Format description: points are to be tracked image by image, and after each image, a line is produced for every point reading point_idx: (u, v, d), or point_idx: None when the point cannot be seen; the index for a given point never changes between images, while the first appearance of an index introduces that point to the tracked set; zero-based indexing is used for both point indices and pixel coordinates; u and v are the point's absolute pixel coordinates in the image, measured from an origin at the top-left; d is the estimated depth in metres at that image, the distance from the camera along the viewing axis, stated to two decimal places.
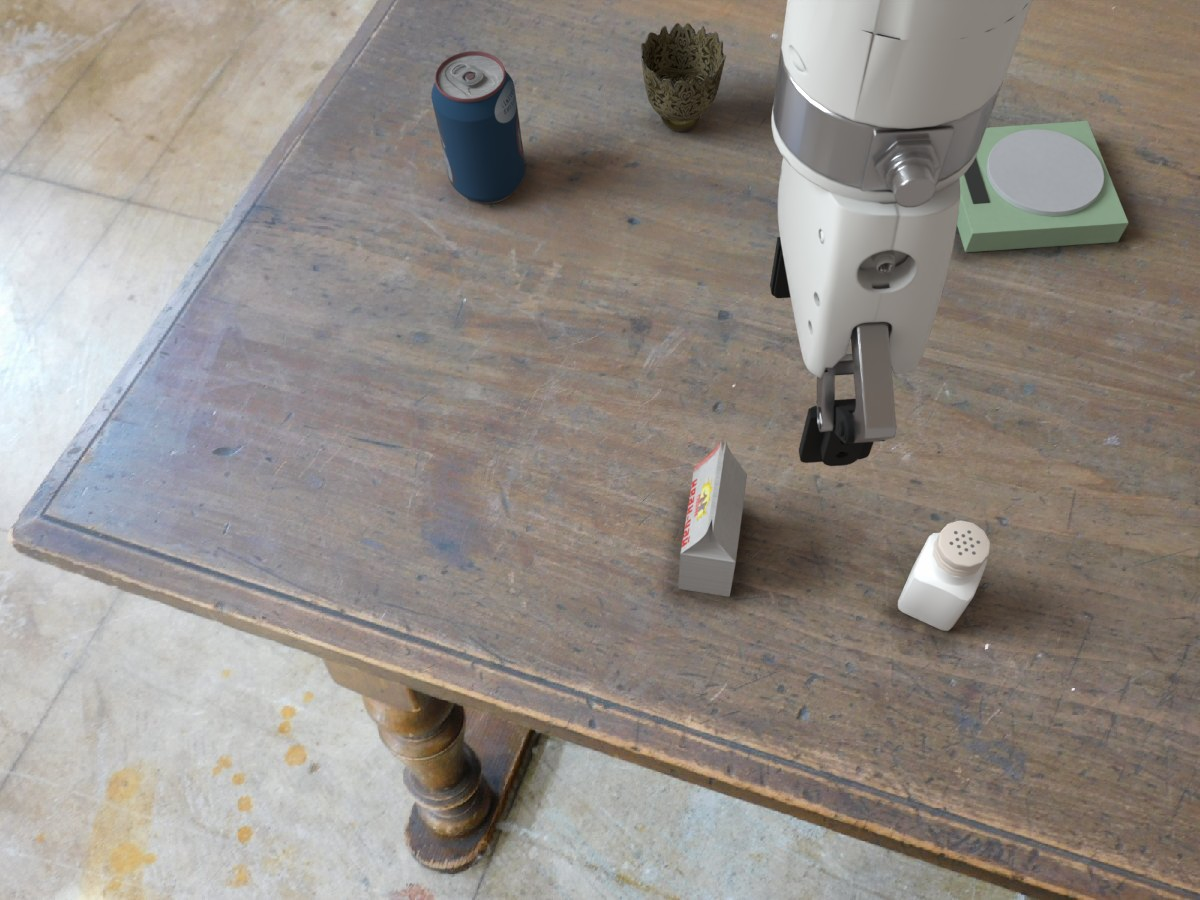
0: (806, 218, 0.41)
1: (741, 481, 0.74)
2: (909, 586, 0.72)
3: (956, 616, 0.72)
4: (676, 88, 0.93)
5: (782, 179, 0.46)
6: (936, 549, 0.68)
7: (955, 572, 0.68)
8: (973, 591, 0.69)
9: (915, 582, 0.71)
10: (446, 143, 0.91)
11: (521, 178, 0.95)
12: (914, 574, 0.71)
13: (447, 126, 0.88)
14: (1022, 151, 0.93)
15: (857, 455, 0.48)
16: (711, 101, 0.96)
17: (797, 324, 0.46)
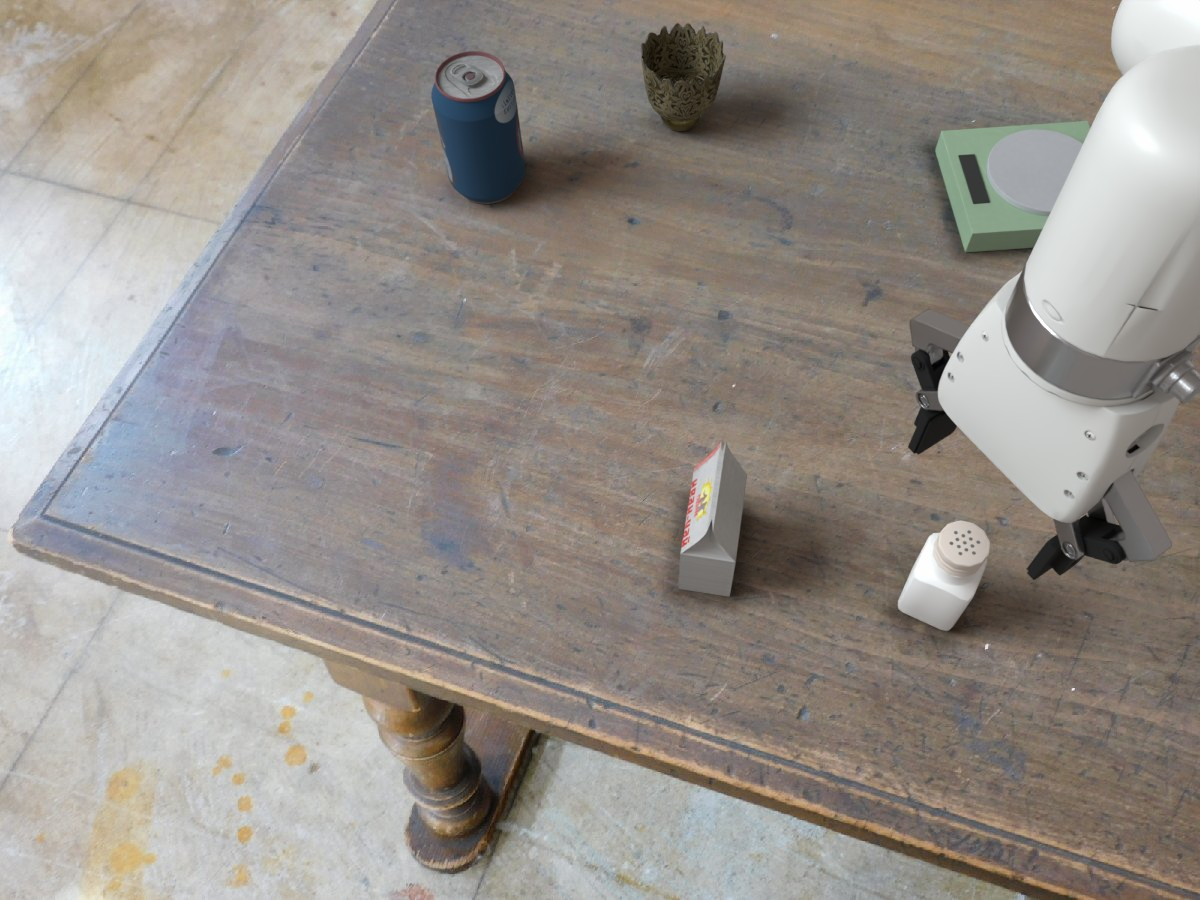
0: (1056, 422, 0.50)
1: (741, 481, 0.74)
2: (909, 586, 0.72)
3: (956, 616, 0.72)
4: (676, 88, 0.93)
5: (963, 383, 0.55)
6: (936, 549, 0.68)
7: (955, 572, 0.68)
8: (973, 591, 0.69)
9: (915, 582, 0.71)
10: (446, 143, 0.91)
11: (521, 178, 0.95)
12: (914, 574, 0.71)
13: (447, 126, 0.88)
14: (1022, 151, 0.93)
15: (1082, 557, 0.58)
16: (711, 101, 0.96)
17: (1027, 488, 0.55)
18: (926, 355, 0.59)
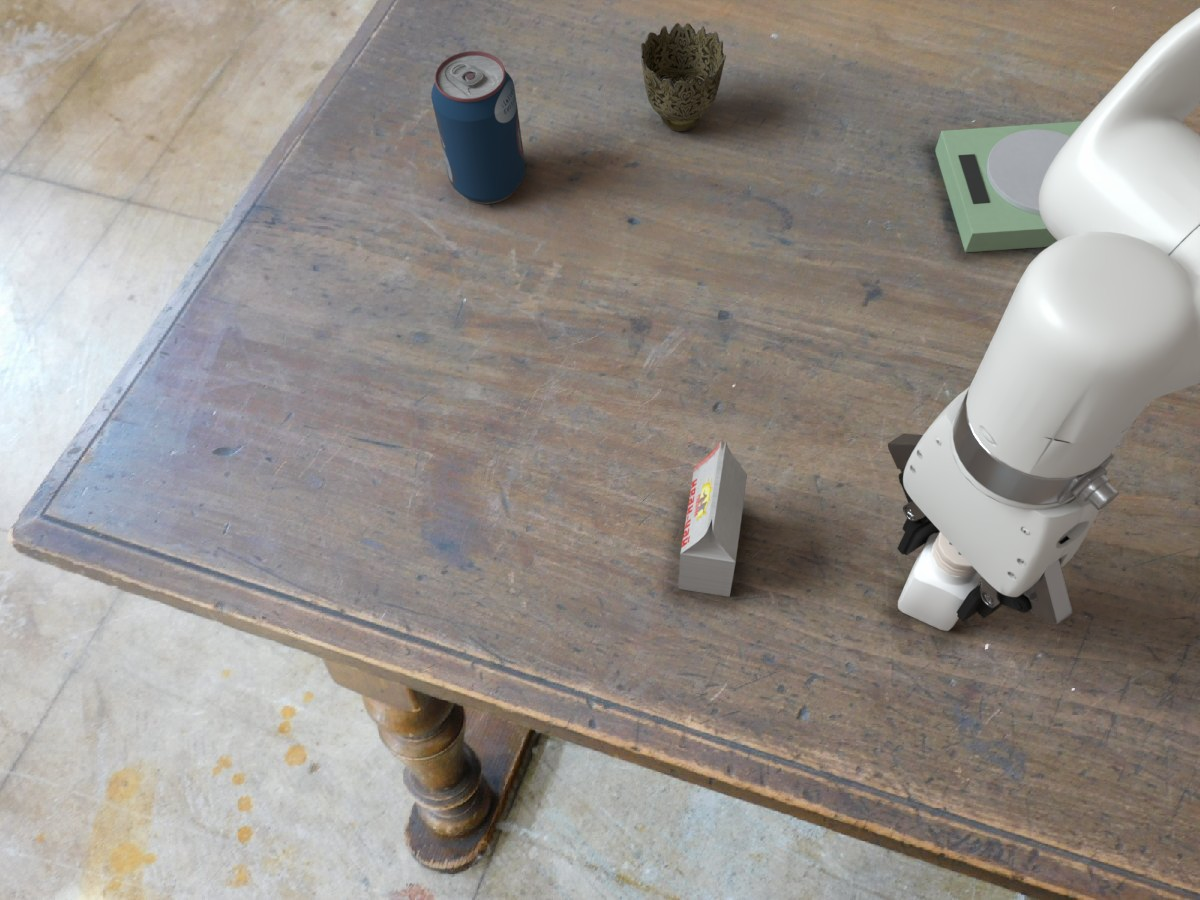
0: (998, 518, 0.58)
1: (741, 481, 0.74)
2: (909, 586, 0.72)
3: (956, 616, 0.72)
4: (676, 88, 0.93)
5: (923, 476, 0.63)
6: (936, 549, 0.68)
7: (955, 572, 0.68)
8: None
9: (915, 582, 0.71)
10: (446, 143, 0.91)
11: (521, 178, 0.95)
12: (914, 574, 0.71)
13: (447, 126, 0.88)
14: (1022, 151, 0.93)
15: (1002, 603, 0.69)
16: (711, 101, 0.96)
17: (979, 567, 0.63)
18: None
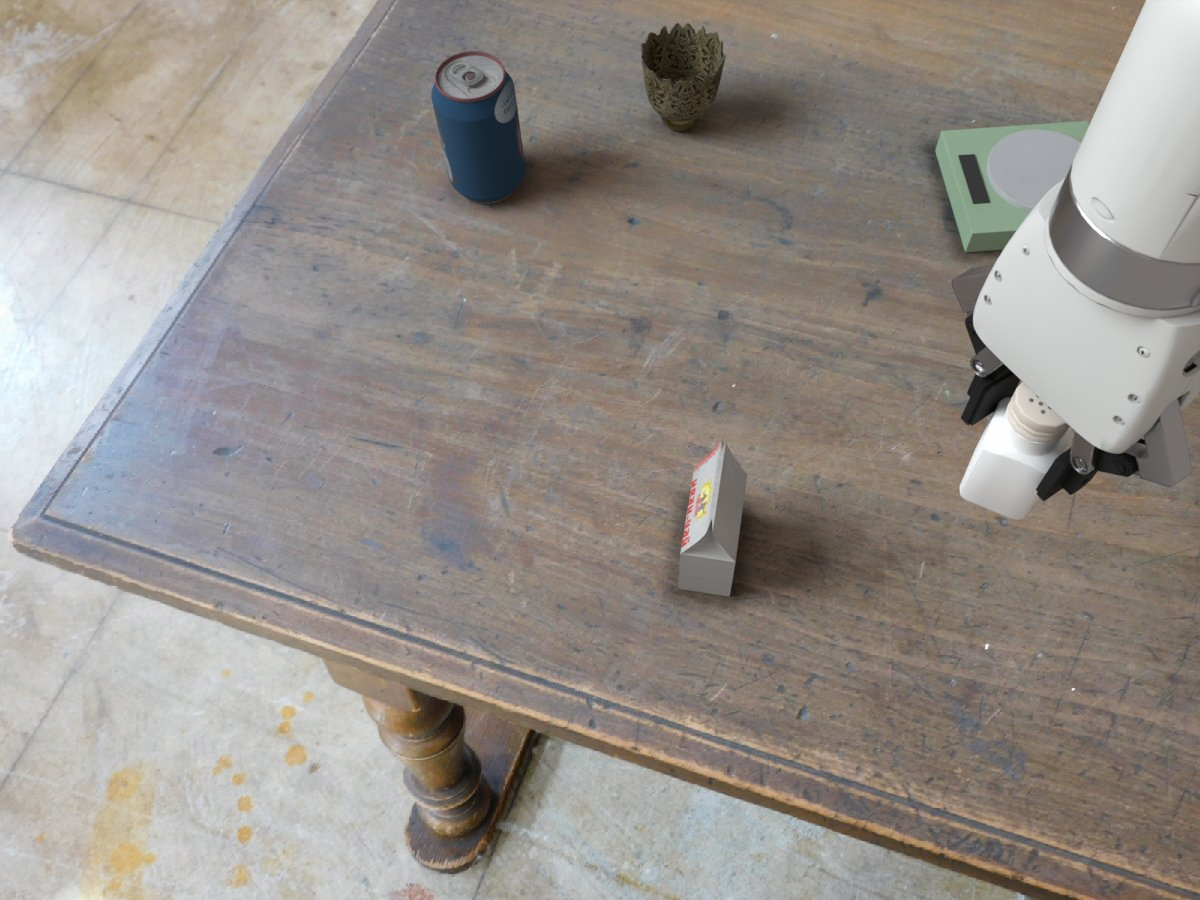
0: (1105, 340, 0.46)
1: (741, 481, 0.74)
2: (976, 462, 0.59)
3: (1033, 498, 0.59)
4: (676, 88, 0.93)
5: (1001, 305, 0.51)
6: (1012, 409, 0.56)
7: (1036, 436, 0.55)
8: None
9: (984, 455, 0.58)
10: (446, 143, 0.91)
11: (521, 178, 0.95)
12: (983, 445, 0.58)
13: (447, 126, 0.88)
14: (1022, 151, 0.93)
15: (1093, 475, 0.56)
16: (711, 101, 0.96)
17: (1072, 418, 0.51)
18: None
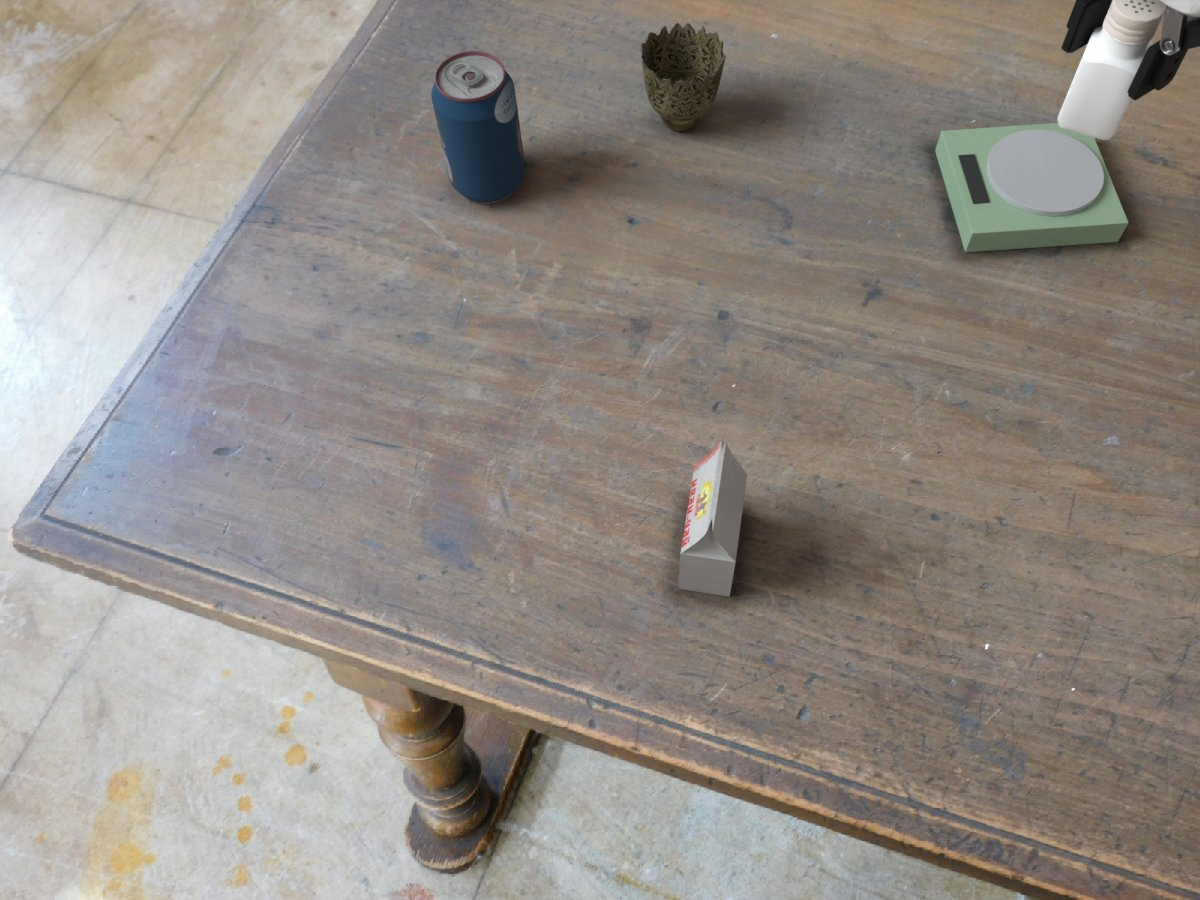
0: None
1: (741, 481, 0.74)
2: (1075, 79, 0.72)
3: (1123, 107, 0.72)
4: (676, 88, 0.93)
5: None
6: (1109, 16, 0.69)
7: (1130, 36, 0.69)
8: None
9: (1084, 68, 0.71)
10: (446, 143, 0.91)
11: (521, 178, 0.95)
12: (1083, 59, 0.71)
13: (447, 126, 0.88)
14: (1022, 151, 0.93)
15: (1175, 72, 0.69)
16: (711, 101, 0.96)
17: None
18: None
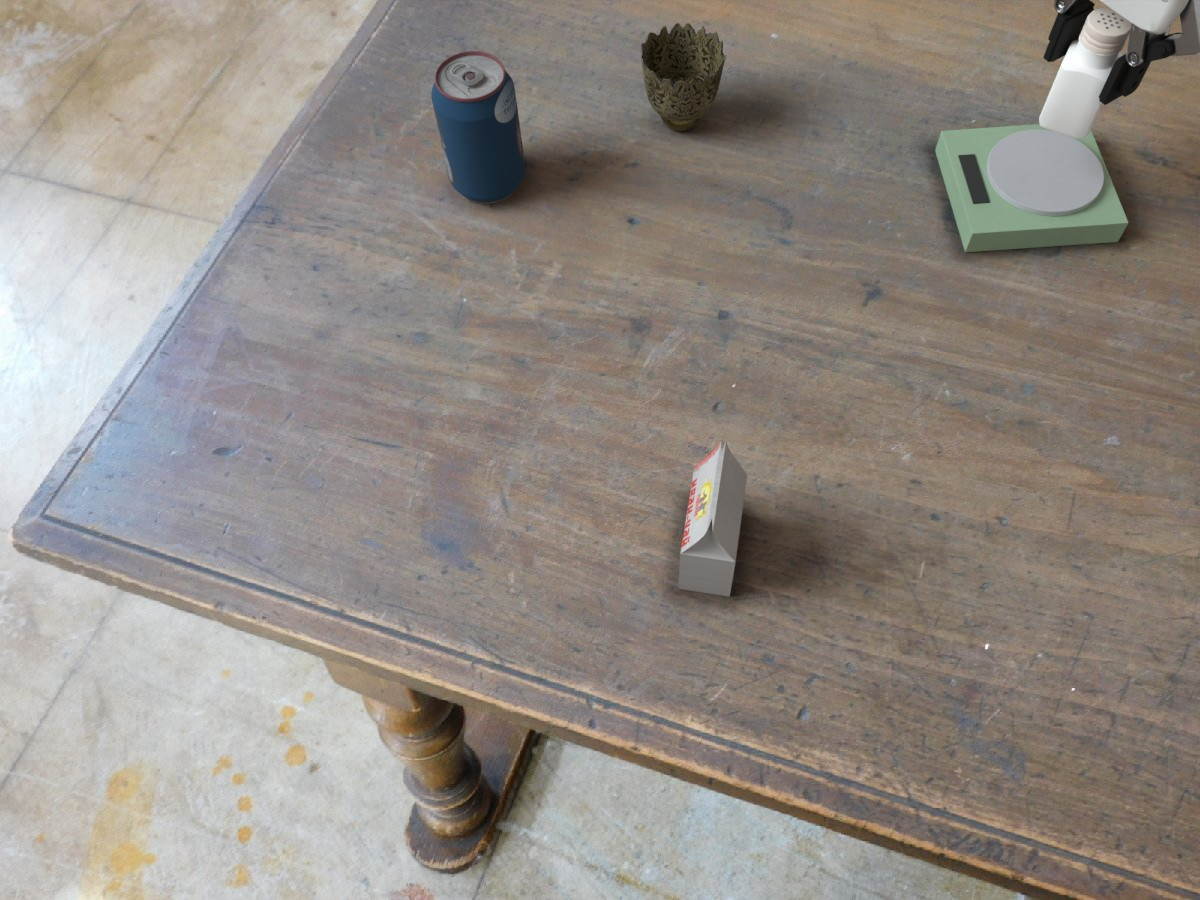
0: None
1: (741, 481, 0.74)
2: (1054, 85, 0.83)
3: (1095, 111, 0.83)
4: (676, 88, 0.93)
5: None
6: (1084, 31, 0.80)
7: (1101, 49, 0.79)
8: None
9: (1062, 75, 0.82)
10: (446, 143, 0.91)
11: (521, 178, 0.95)
12: (1061, 67, 0.82)
13: (447, 126, 0.88)
14: (1022, 151, 0.93)
15: (1140, 81, 0.80)
16: (711, 101, 0.96)
17: (1131, 11, 0.75)
18: None
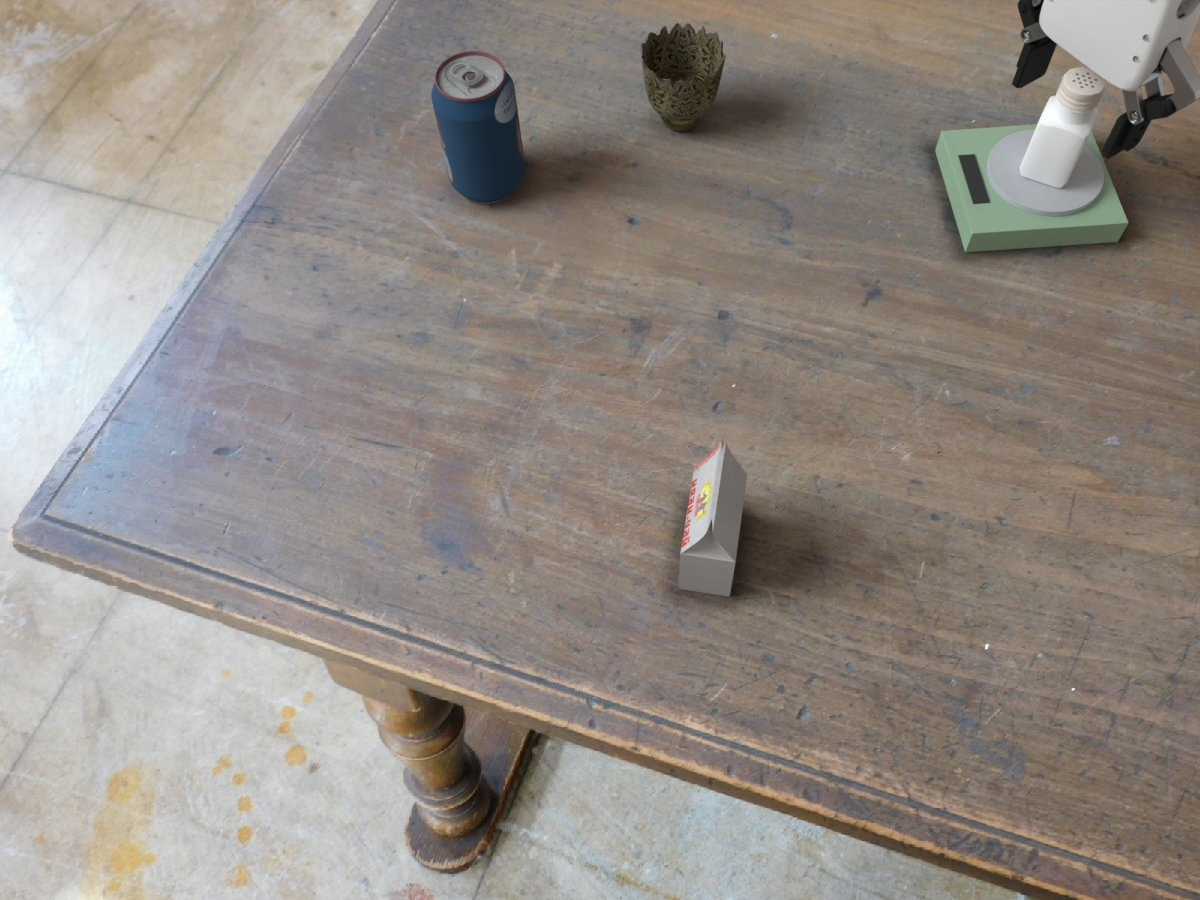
0: None
1: (741, 481, 0.74)
2: (1033, 138, 0.88)
3: (1072, 162, 0.88)
4: (676, 88, 0.93)
5: None
6: (1060, 89, 0.84)
7: (1076, 106, 0.84)
8: (1089, 130, 0.85)
9: (1040, 130, 0.87)
10: (446, 143, 0.91)
11: (521, 178, 0.95)
12: (1039, 122, 0.87)
13: (447, 126, 0.88)
14: (1022, 151, 0.93)
15: (1141, 137, 0.83)
16: (711, 101, 0.96)
17: (1105, 70, 0.79)
18: None
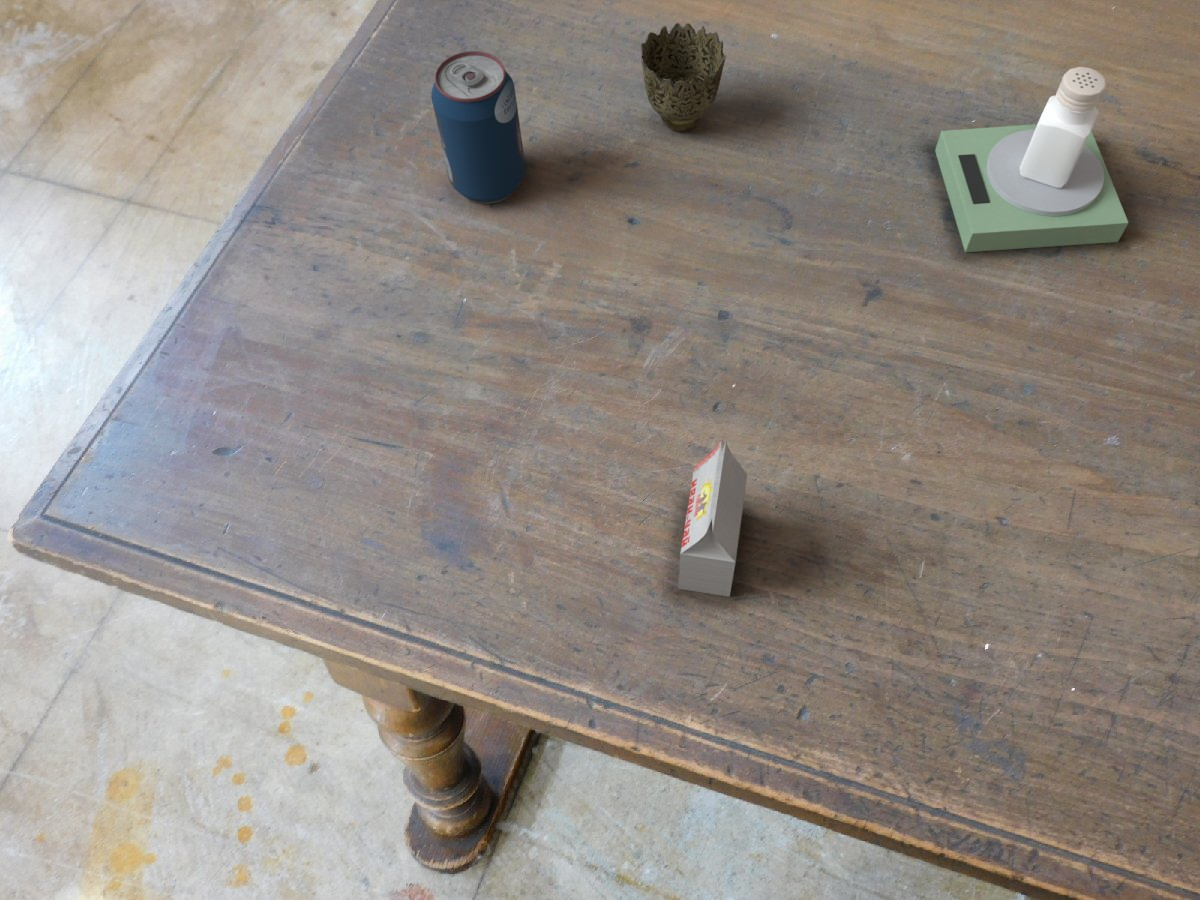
0: None
1: (741, 481, 0.74)
2: (1033, 138, 0.88)
3: (1072, 162, 0.88)
4: (676, 88, 0.93)
5: None
6: (1060, 89, 0.84)
7: (1076, 106, 0.84)
8: (1089, 130, 0.85)
9: (1040, 130, 0.87)
10: (446, 143, 0.91)
11: (521, 178, 0.95)
12: (1039, 122, 0.87)
13: (447, 126, 0.88)
14: (1022, 151, 0.93)
15: None
16: (711, 101, 0.96)
17: None
18: None
